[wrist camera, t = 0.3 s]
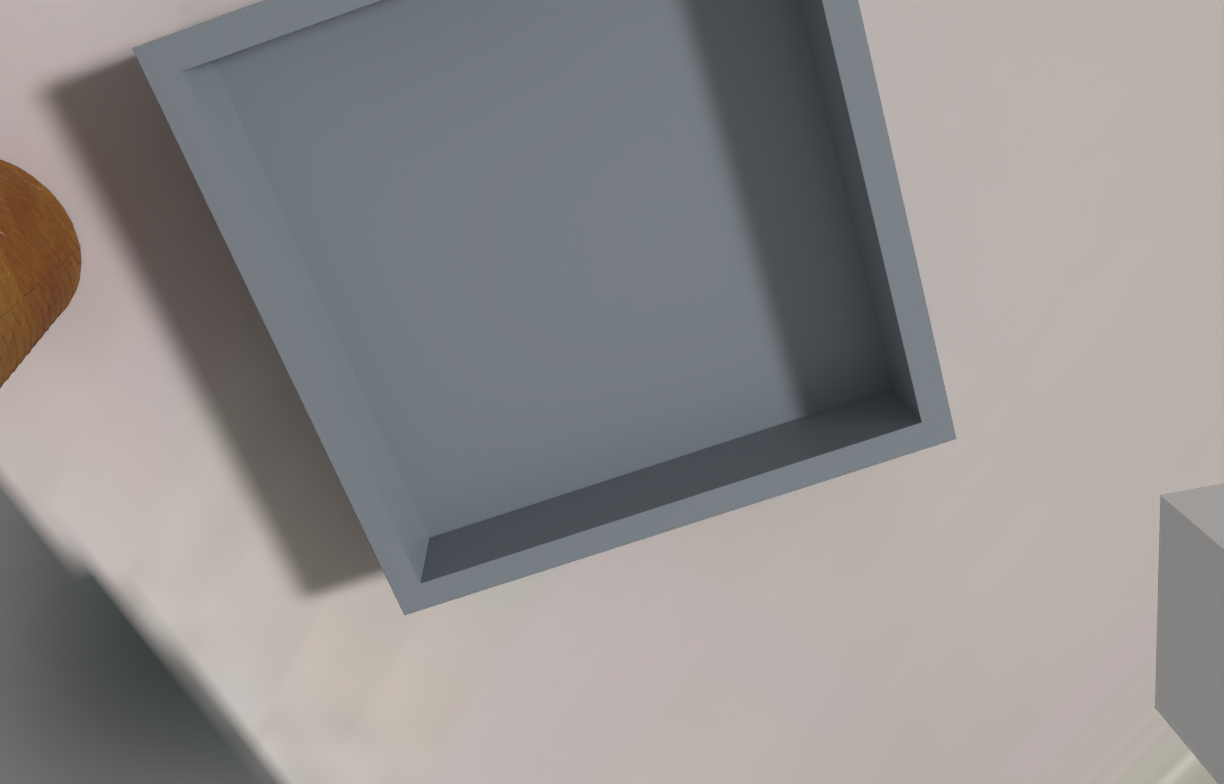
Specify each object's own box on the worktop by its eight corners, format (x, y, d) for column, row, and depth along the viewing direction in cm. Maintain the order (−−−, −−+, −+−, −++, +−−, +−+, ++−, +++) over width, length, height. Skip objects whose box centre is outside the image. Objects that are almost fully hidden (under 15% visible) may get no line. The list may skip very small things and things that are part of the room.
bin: (176, 39, 34) (132, 48, 30) (782, -179, 33) (813, -197, 29) (416, 556, 41) (404, 615, 37) (917, 394, 40) (956, 438, 36)
